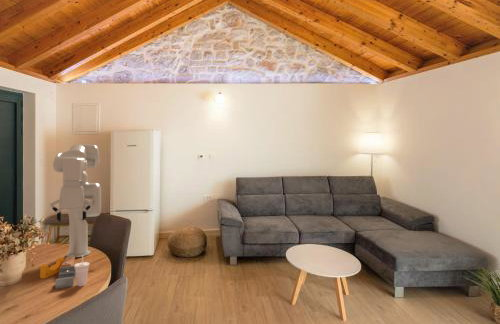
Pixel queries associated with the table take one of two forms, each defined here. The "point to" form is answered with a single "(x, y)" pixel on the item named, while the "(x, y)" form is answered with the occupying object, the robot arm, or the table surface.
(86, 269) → the pink drink cup
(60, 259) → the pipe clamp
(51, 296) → the table surface
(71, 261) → the peach two-stud bar
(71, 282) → the book ends
